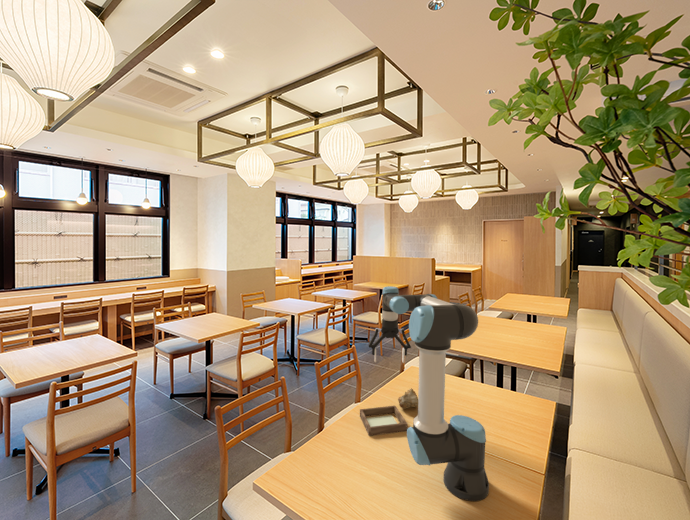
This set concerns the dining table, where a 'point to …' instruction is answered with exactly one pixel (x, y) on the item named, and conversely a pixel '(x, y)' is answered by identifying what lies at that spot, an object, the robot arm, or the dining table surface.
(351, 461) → the dining table surface
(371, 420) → the pad
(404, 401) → the rock
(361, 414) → the brown wooden tray
